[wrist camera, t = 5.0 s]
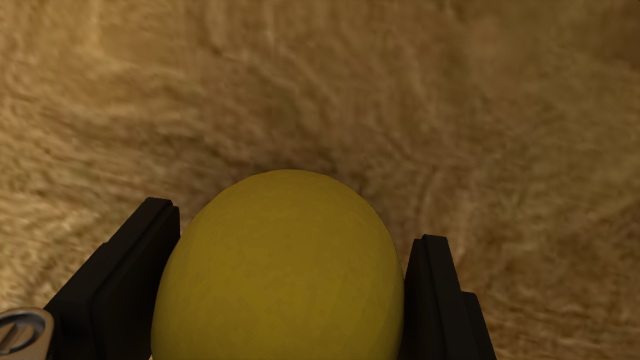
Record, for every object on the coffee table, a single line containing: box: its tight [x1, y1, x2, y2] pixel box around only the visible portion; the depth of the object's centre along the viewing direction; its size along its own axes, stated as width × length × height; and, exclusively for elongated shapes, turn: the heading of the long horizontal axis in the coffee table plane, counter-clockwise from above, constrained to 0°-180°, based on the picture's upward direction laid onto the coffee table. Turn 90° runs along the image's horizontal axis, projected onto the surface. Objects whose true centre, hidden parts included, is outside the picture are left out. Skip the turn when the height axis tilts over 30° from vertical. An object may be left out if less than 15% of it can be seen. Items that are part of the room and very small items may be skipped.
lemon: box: [151, 169, 404, 360], centre depth 11 cm, size 6×6×8 cm
